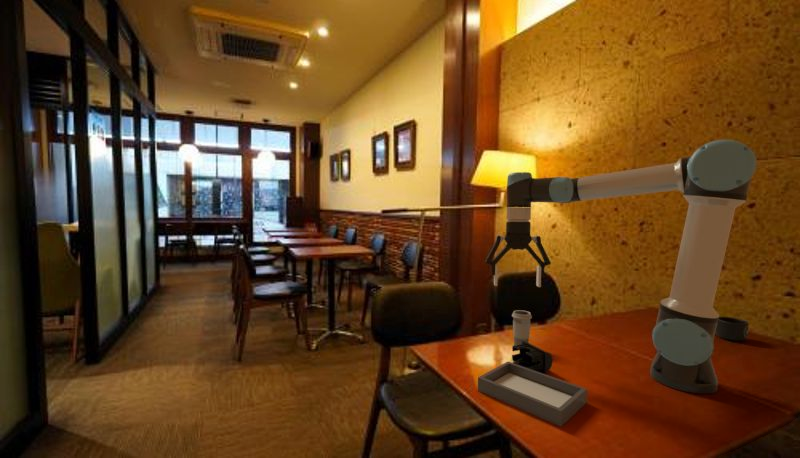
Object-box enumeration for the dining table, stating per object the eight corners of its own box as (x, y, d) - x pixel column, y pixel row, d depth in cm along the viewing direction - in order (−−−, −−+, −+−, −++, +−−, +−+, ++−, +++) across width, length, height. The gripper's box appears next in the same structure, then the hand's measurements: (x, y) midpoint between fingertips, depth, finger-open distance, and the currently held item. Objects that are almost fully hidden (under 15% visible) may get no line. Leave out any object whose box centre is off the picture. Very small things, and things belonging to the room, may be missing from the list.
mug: (750, 339, 138) (751, 321, 138) (744, 345, 133) (745, 325, 132) (709, 331, 148) (710, 313, 147) (702, 335, 142) (703, 317, 142)
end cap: (552, 373, 109) (553, 351, 109) (533, 377, 106) (534, 354, 106) (529, 360, 118) (529, 339, 118) (510, 363, 116) (511, 342, 115)
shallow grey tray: (586, 402, 93) (587, 388, 93) (560, 426, 82) (561, 411, 82) (507, 373, 109) (507, 361, 108) (477, 390, 98) (478, 377, 98)
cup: (528, 351, 125) (529, 316, 124) (508, 347, 129) (509, 313, 128) (533, 345, 131) (534, 311, 130) (514, 341, 135) (515, 308, 134)
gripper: (555, 220, 122) (553, 284, 124) (478, 220, 125) (477, 282, 126) (562, 221, 115) (560, 289, 116) (480, 220, 118) (479, 287, 119)
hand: (516, 285), depth 121 cm, fingers open, 13 cm apart
